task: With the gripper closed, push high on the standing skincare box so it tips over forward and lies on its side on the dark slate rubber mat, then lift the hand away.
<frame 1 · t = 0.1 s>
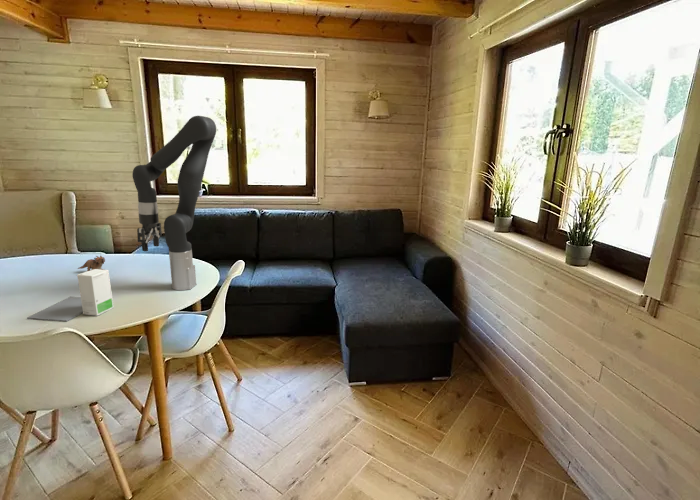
hand: (151, 248, 168), 17 cm above the table, tool pointing down, fingers open, 8 cm apart
slate mat: (68, 308, 146), on the table
dinosaur figurine: (95, 273, 186), on the table
skincare box: (98, 311, 146), on the table
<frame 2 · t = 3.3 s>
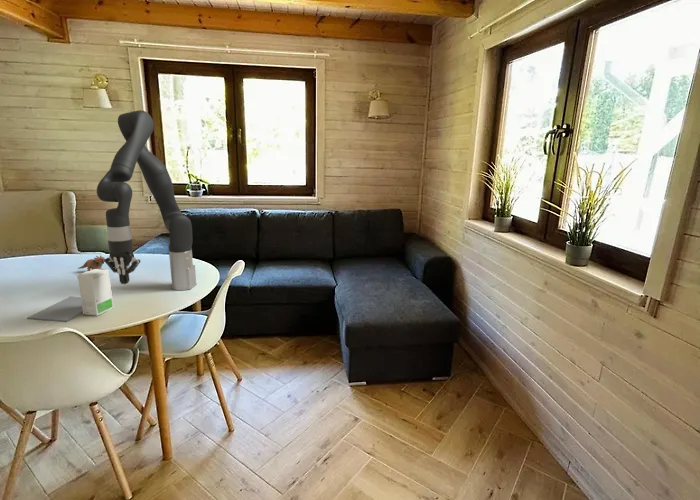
hand: (124, 283, 142), 12 cm above the table, tool pointing down, fingers closed
nothing on the table moved.
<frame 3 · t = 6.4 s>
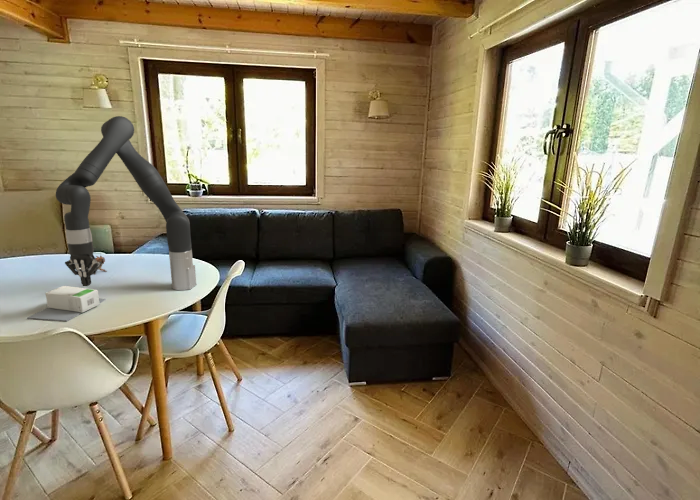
hand: (86, 285, 143), 10 cm above the table, tool pointing down, fingers closed
skincare box: (91, 301, 145), point 4 cm above the table, touching slate mat
everything else where it was.
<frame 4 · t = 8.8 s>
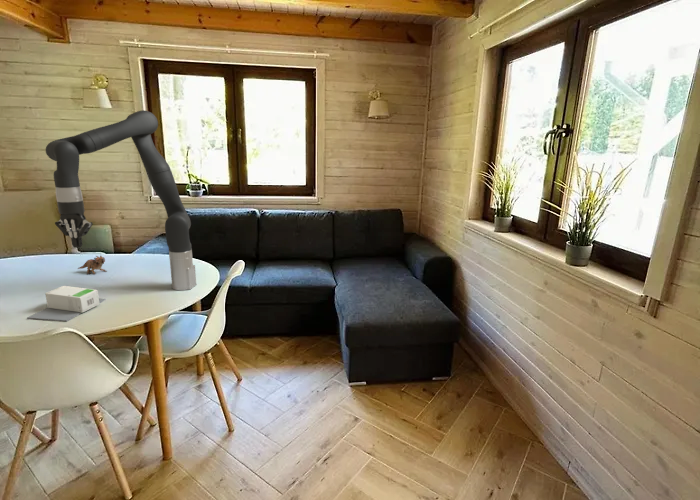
hand: (77, 247, 139), 25 cm above the table, tool pointing down, fingers closed
nothing on the table moved.
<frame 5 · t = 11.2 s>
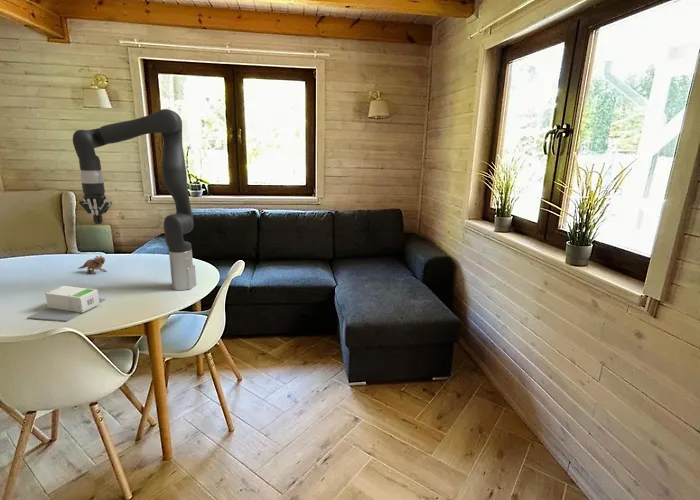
hand: (98, 223, 159), 29 cm above the table, tool pointing down, fingers closed
nothing on the table moved.
at the end: skincare box tilted 89°; skincare box inside the target area (8.9 cm from its centre), point 3.5 cm above the table; skincare box touching slate mat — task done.
